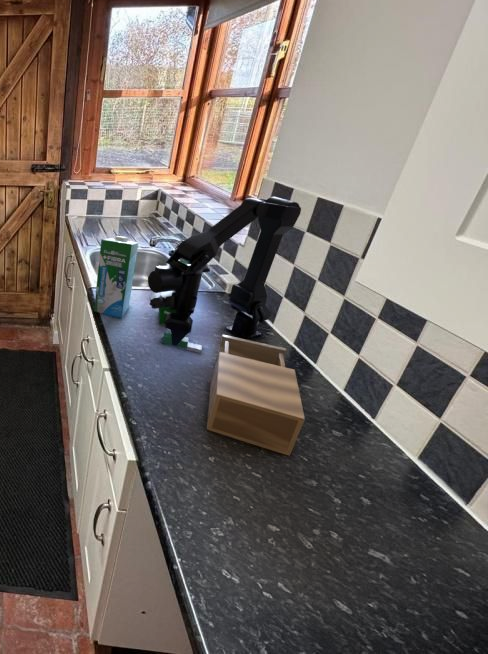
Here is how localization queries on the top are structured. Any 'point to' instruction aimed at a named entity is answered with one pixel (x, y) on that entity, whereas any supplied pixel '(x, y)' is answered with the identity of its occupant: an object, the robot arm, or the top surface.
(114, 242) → the milk carton
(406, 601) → the top surface
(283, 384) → the cabinet
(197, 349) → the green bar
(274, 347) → the drawer
